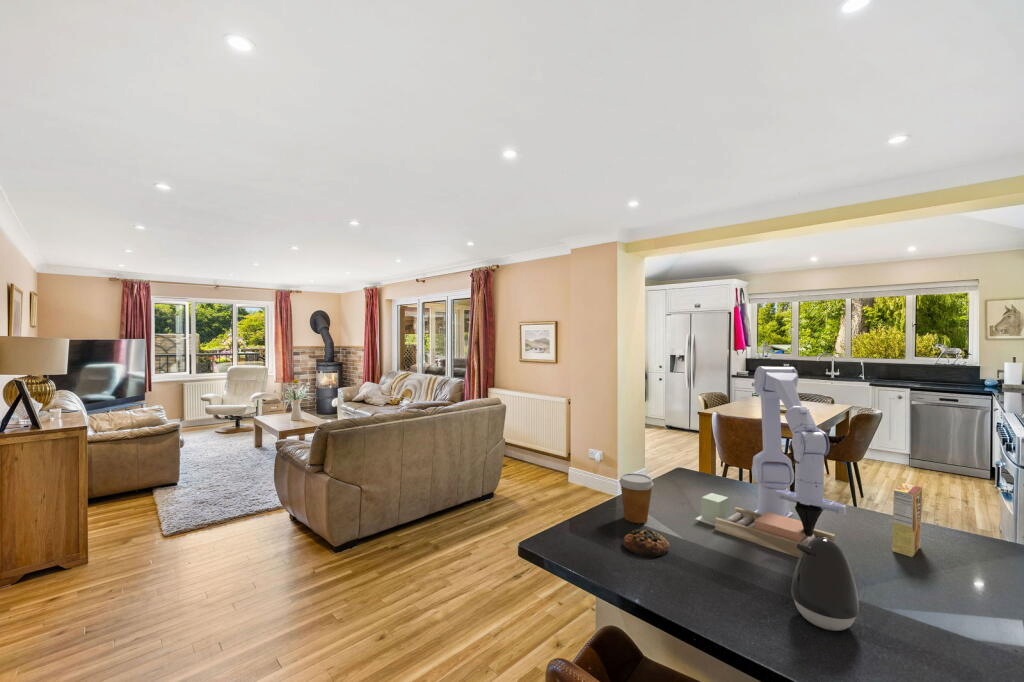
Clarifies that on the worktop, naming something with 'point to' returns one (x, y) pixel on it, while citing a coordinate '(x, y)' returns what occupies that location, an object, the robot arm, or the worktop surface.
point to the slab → (780, 526)
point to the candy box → (907, 519)
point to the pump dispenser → (825, 586)
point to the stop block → (714, 507)
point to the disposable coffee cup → (636, 496)
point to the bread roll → (646, 543)
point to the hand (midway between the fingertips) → (808, 535)
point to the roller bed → (760, 532)
